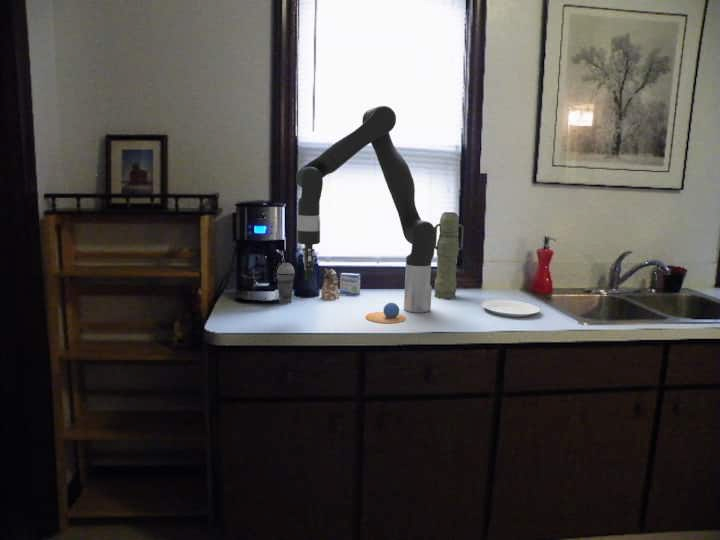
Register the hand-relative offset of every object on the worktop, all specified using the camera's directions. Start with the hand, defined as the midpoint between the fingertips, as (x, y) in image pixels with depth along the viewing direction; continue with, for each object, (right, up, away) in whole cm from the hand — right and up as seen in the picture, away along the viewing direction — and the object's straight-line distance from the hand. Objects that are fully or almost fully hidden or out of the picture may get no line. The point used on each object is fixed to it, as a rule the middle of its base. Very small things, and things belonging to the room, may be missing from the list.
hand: (308, 280), depth 169 cm
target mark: (+26, -13, +7) cm, 30 cm away
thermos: (+53, -8, +42) cm, 68 cm away
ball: (+28, -11, +6) cm, 31 cm away
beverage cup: (-11, -9, +25) cm, 29 cm away
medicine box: (+13, -7, +42) cm, 44 cm away
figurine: (+5, -8, +33) cm, 35 cm away
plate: (+74, -13, +20) cm, 77 cm away
